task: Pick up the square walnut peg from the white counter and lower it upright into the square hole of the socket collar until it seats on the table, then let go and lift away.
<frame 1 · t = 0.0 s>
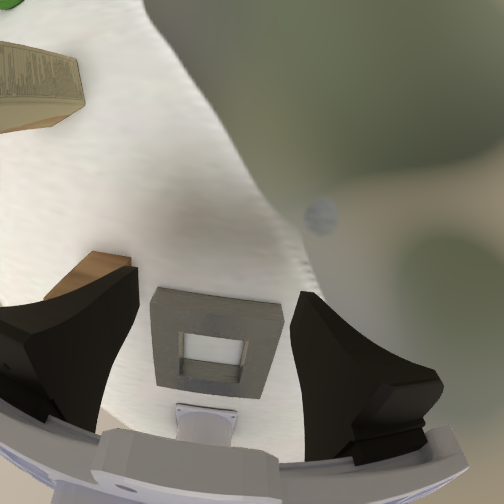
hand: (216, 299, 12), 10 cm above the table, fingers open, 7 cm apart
collar: (213, 342, 26), on the table
peg: (112, 274, 22), on the table
box: (64, 93, 16), on the table
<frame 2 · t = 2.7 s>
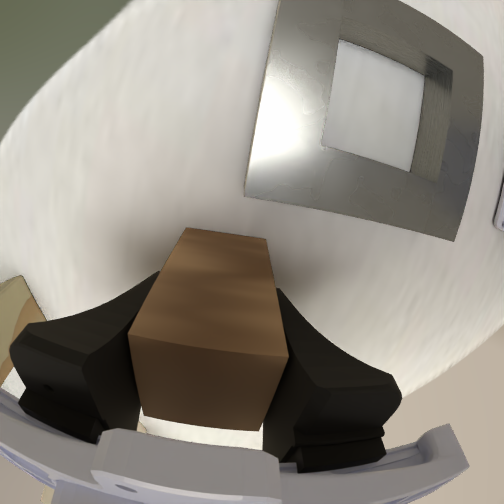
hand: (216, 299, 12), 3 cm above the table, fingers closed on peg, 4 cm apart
collar: (373, 103, 11), on the table
peg: (220, 268, 14), on the table, touching gripper
box: (21, 301, 15), on the table
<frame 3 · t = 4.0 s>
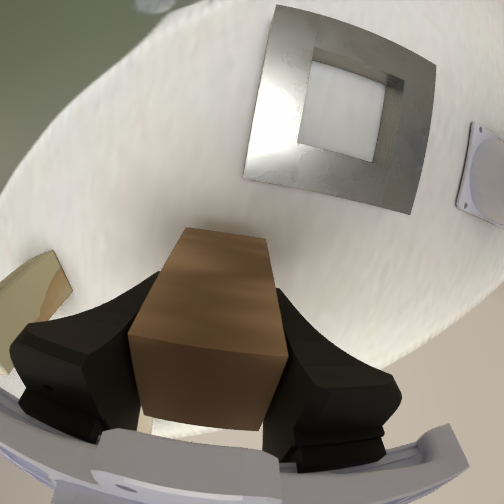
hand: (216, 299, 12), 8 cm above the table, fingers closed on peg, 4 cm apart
collar: (341, 110, 15), on the table
peg: (220, 268, 14), point 5 cm above the table, touching gripper
box: (49, 274, 20), on the table
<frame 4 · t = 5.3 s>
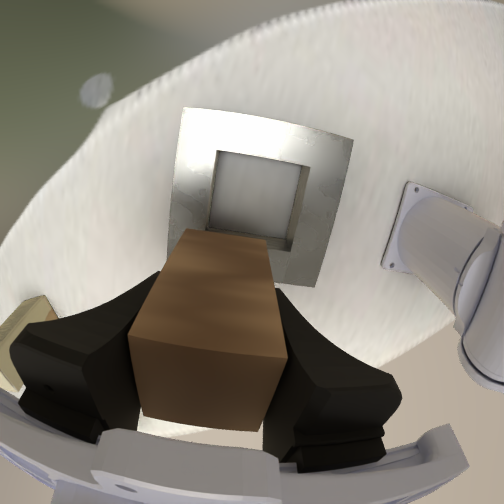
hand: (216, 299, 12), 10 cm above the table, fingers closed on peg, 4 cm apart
collar: (254, 195, 20), on the table
peg: (220, 269, 14), point 7 cm above the table, touching gripper
box: (43, 311, 24), on the table
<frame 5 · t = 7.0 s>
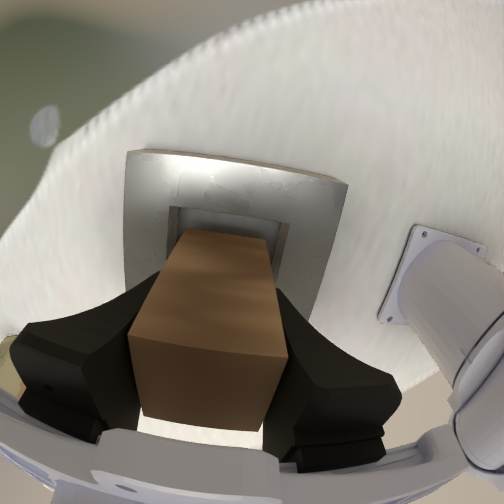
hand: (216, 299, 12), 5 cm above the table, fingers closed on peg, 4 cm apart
collar: (224, 249, 17), on the table
peg: (220, 269, 14), point 3 cm above the table, touching gripper
box: (25, 348, 21), on the table
when the fingers open (4 cm above the table, at t = 8.2 s): peg drops 1 cm, resting in collar.
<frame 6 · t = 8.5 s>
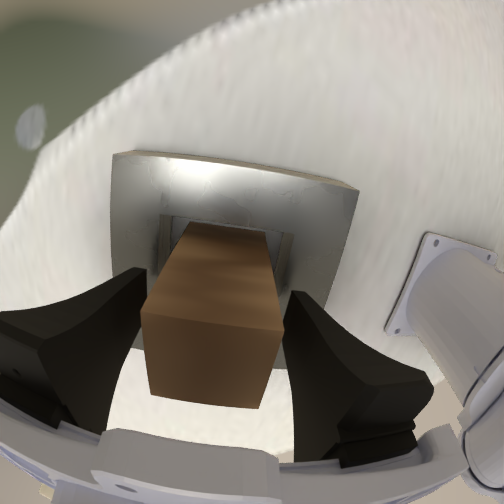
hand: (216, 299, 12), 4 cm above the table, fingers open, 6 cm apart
collar: (222, 260, 15), on the table
peg: (222, 260, 15), resting in collar
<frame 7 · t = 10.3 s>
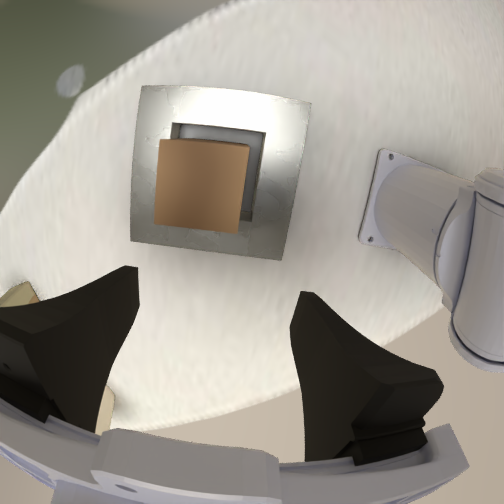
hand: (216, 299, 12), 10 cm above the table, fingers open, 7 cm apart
collar: (216, 167, 19), on the table
foam cup: (95, 388, 30), on the table
peg: (216, 167, 19), resting in collar
box: (28, 298, 24), on the table
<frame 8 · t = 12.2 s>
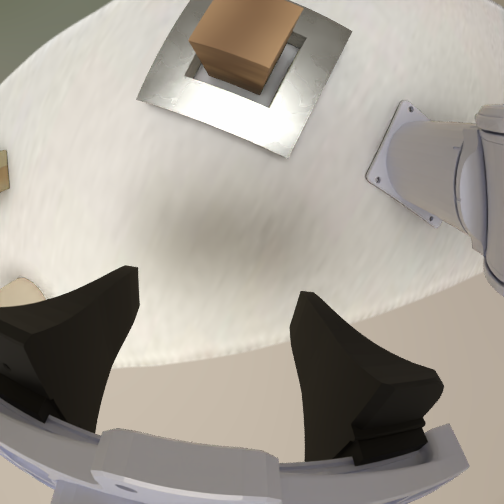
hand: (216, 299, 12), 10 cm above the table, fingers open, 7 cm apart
collar: (245, 62, 16), on the table
foam cup: (31, 299, 24), on the table
peg: (245, 62, 16), resting in collar
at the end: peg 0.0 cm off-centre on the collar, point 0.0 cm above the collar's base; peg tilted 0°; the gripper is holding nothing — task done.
